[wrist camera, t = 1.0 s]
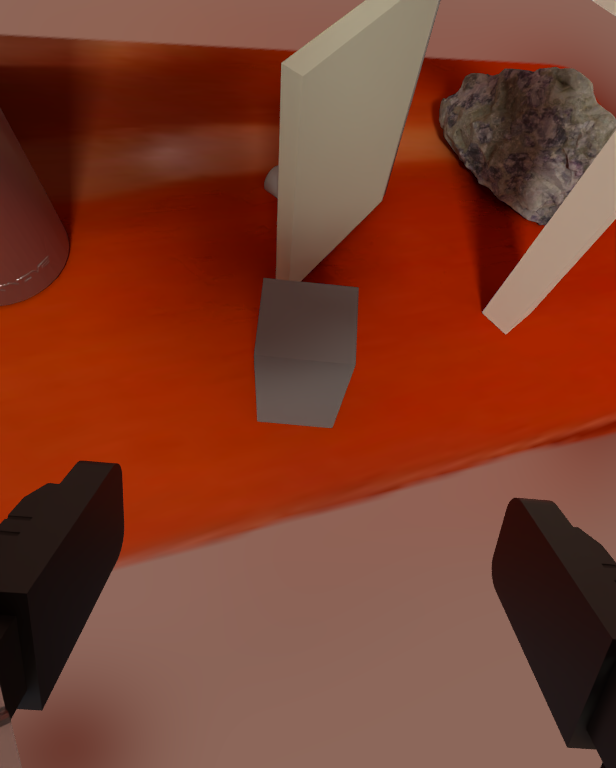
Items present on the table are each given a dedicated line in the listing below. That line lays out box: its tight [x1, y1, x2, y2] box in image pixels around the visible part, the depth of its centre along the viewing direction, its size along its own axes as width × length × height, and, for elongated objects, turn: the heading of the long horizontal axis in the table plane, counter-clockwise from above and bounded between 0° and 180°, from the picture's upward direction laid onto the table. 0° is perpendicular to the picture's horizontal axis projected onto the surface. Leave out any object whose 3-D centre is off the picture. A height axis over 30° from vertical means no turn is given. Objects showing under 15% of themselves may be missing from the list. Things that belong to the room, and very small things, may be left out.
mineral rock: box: [439, 67, 616, 225], centre depth 40 cm, size 13×11×10 cm
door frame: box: [482, 0, 616, 334], centre depth 31 cm, size 18×3×22 cm, turn 41°
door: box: [264, 0, 440, 282], centre depth 33 cm, size 13×3×17 cm, turn 141°
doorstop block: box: [254, 278, 359, 428], centre depth 31 cm, size 4×5×10 cm
